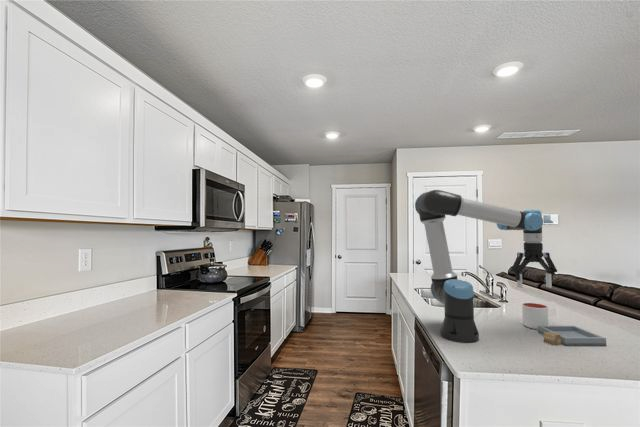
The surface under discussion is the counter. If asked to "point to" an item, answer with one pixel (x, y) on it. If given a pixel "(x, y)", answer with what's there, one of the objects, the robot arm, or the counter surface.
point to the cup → (534, 315)
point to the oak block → (552, 338)
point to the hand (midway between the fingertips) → (534, 287)
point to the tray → (574, 336)
